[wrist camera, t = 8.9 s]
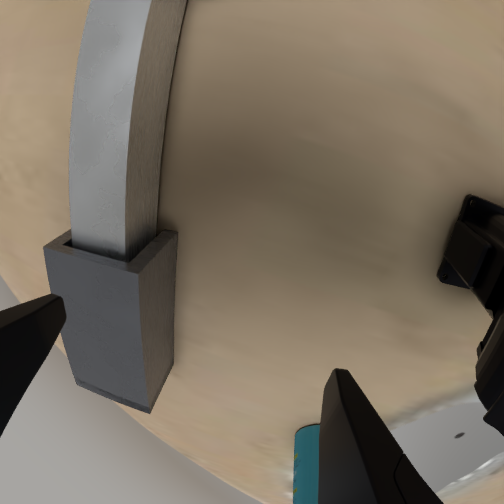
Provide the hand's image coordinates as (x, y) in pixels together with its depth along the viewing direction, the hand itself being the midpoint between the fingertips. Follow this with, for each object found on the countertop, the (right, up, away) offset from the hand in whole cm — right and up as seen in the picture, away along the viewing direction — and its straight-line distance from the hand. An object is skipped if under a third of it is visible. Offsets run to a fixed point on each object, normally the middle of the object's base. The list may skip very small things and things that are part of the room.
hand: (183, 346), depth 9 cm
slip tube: (-5, +12, +9) cm, 16 cm away
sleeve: (-7, -1, +15) cm, 17 cm away
